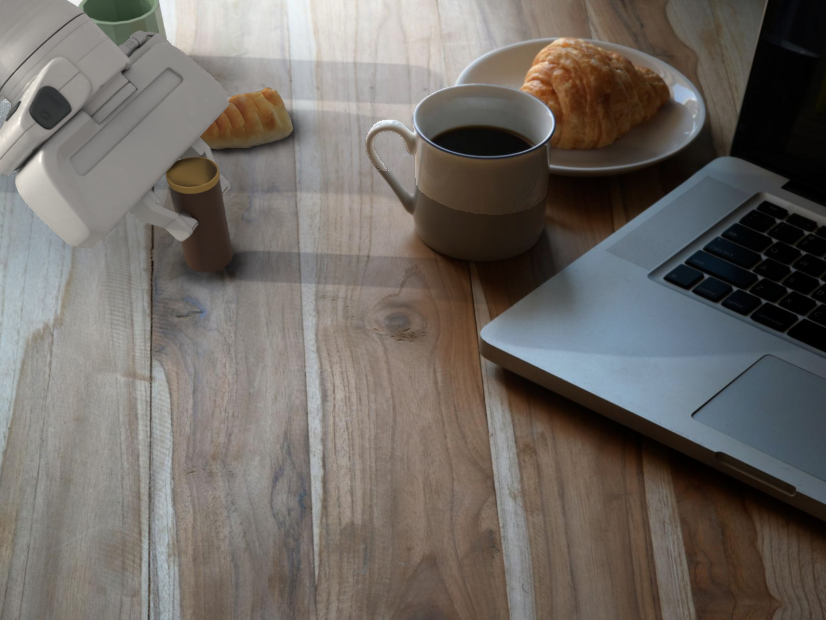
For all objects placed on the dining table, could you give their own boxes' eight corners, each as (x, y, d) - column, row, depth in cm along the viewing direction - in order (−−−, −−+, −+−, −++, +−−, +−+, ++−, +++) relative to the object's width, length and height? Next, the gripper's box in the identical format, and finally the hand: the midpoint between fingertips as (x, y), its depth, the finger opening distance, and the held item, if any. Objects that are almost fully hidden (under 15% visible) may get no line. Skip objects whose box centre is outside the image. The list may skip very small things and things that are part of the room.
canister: (86, 90, 99) (66, 20, 93) (113, 52, 105) (95, -17, 99) (160, 97, 99) (144, 27, 93) (182, 58, 104) (169, -11, 98)
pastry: (211, 164, 91) (204, 131, 88) (186, 130, 95) (179, 97, 92) (299, 138, 94) (295, 105, 92) (271, 106, 98) (267, 73, 96)
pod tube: (178, 270, 79) (158, 185, 72) (192, 239, 82) (175, 154, 75) (226, 275, 79) (210, 190, 72) (238, 244, 82) (224, 159, 75)
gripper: (129, 40, 80) (245, 160, 85) (-28, 174, 67) (120, 306, 72) (165, 1, 76) (285, 130, 81) (5, 135, 63) (161, 279, 68)
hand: (207, 214), depth 77 cm, fingers closed on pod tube, 4 cm apart
